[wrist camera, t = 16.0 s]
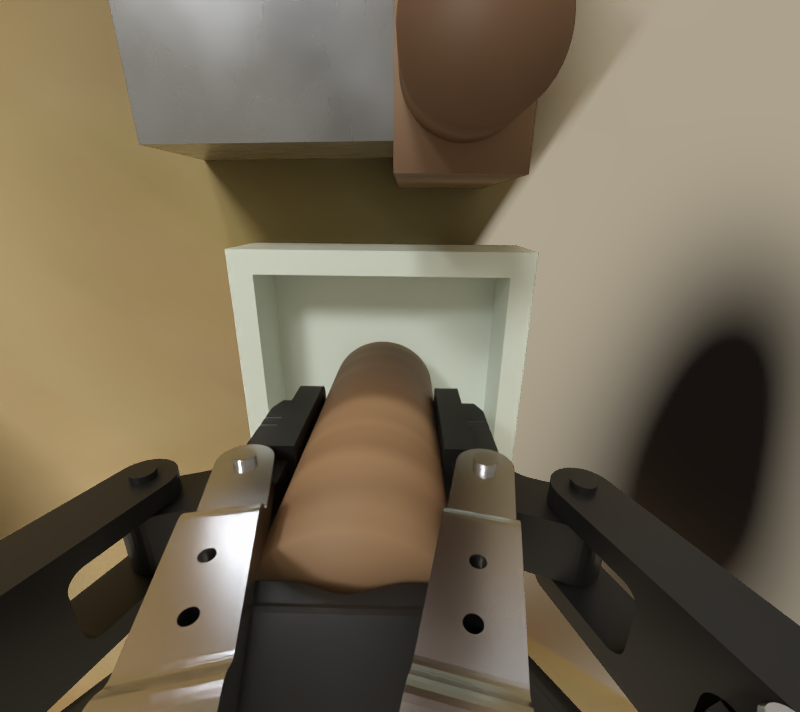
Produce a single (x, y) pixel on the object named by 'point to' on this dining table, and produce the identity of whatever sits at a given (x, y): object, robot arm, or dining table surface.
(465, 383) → the tray
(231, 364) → the dining table surface
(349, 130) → the grey rectangular block
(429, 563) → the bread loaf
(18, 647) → the robot arm
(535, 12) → the block
